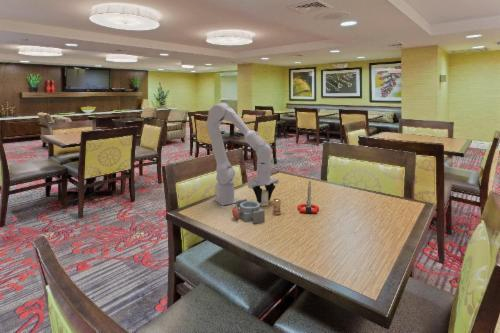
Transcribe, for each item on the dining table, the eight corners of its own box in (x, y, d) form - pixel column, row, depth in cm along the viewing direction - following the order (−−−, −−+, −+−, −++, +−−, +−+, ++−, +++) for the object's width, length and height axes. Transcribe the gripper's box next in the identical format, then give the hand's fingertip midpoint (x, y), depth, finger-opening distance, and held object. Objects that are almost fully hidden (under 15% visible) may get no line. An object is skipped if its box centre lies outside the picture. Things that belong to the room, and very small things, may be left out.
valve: (226, 213, 134) (226, 202, 132) (249, 208, 139) (249, 197, 138) (243, 226, 121) (243, 214, 120) (268, 220, 126) (268, 208, 125)
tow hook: (297, 205, 143) (297, 213, 133) (298, 175, 140) (298, 180, 131) (318, 207, 142) (319, 214, 132) (319, 176, 139) (321, 181, 129)
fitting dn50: (256, 203, 145) (256, 190, 143) (265, 201, 147) (265, 188, 146) (261, 206, 141) (261, 193, 139) (270, 204, 143) (271, 191, 142)
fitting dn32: (271, 212, 134) (271, 199, 133) (277, 211, 136) (278, 197, 134) (275, 215, 131) (275, 201, 130) (282, 214, 133) (282, 200, 131)
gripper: (253, 176, 134) (253, 206, 137) (282, 171, 140) (282, 200, 144) (245, 172, 139) (245, 201, 143) (273, 167, 146) (273, 196, 150)
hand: (263, 201), depth 144 cm, fingers closed on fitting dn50, 4 cm apart
